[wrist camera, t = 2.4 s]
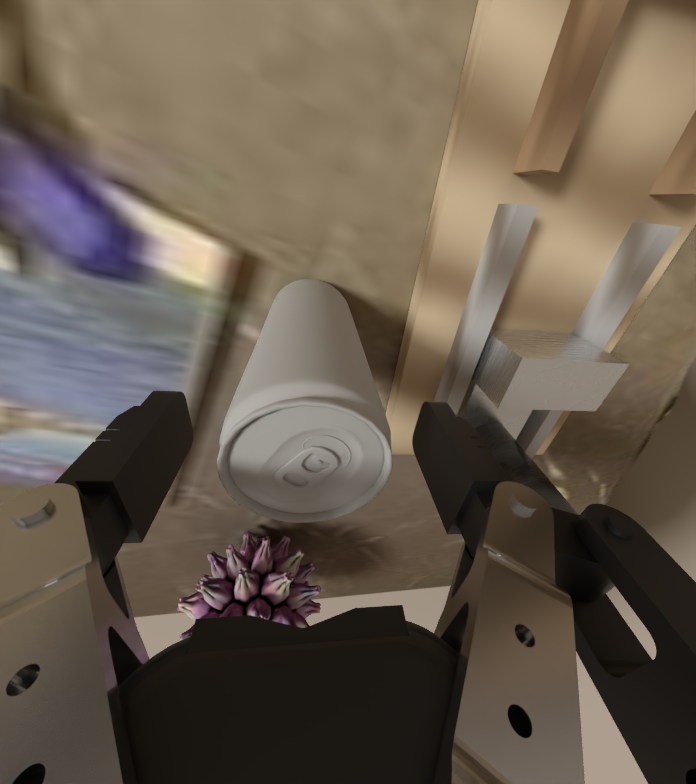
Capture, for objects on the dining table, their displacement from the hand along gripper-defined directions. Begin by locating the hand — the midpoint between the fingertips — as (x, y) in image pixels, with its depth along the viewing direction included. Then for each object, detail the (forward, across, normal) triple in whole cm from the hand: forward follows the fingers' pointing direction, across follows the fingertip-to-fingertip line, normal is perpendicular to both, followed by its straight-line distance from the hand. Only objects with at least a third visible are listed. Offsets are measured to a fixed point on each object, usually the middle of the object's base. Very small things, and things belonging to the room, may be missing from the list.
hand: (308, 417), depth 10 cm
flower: (+10, +4, +24) cm, 26 cm away
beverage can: (+10, 0, 0) cm, 10 cm away
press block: (+8, -13, +3) cm, 15 cm away
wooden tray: (+9, -13, -3) cm, 16 cm away
